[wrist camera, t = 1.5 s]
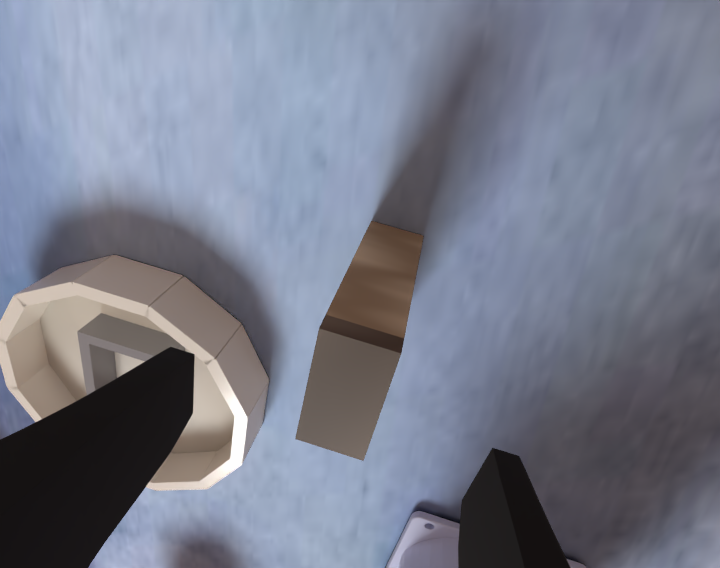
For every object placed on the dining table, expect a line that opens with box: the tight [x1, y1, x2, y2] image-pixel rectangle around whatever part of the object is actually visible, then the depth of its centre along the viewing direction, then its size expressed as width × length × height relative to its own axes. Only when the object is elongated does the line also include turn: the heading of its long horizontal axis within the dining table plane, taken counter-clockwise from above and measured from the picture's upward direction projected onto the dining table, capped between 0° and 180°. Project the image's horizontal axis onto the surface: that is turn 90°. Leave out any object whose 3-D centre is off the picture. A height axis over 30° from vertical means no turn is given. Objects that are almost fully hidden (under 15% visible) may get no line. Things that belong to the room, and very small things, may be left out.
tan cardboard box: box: [295, 221, 424, 461], centre depth 14 cm, size 2×4×7 cm, turn 167°
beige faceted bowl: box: [0, 255, 269, 491], centre depth 22 cm, size 12×12×2 cm
